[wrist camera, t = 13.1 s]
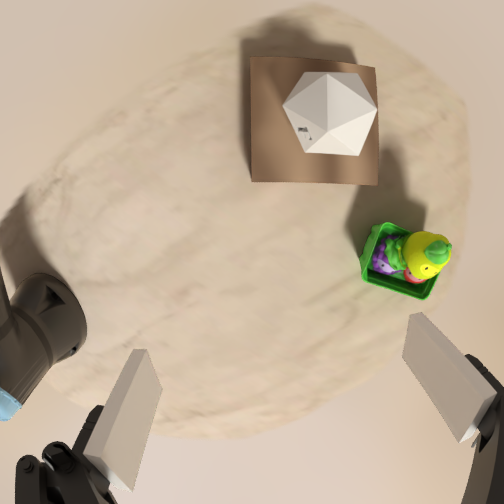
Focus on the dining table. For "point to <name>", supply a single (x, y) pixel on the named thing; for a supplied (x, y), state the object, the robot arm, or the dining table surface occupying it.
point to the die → (330, 112)
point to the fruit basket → (404, 259)
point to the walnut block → (283, 134)
